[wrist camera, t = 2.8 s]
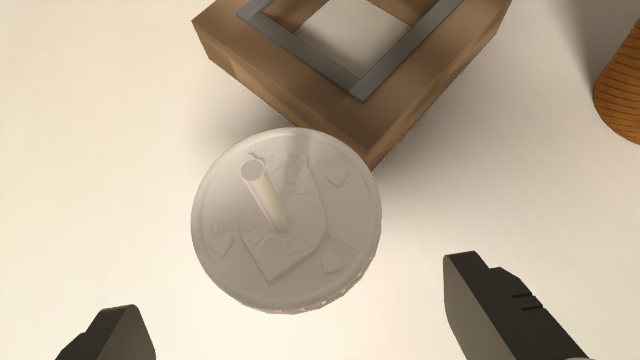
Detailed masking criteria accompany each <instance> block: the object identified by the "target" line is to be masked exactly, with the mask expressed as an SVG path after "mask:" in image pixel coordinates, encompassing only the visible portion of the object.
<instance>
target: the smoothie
mask: <svg viewBox="0 0 640 360" xmlns="http://www.w3.org/2000/svg"><path fill="white" fill-rule="evenodd" d="M381 219H382V208H381V200H380V195H379V191H378V187H377V185H376V182H375V180H374V177H373V175H372V173H371V172H370V170H369V168H368V167H367V165H366V164H365V163H364V161H363V160H362V159H361V158H360V157H359V155H358V154H357V153H356V152H355V151H353V150H352V149H351V148H350V147H349V146H347V145H346V144H345V143H343V142H342V141H340V140H338V139H337V138H335V137H333V136H330V135H328V134H326V133H323V132H320V131H316V130H313V129H307V128H299V127H284V128H275V129H270V130H266V131H262V132H259V133H256V134H253V135H251V136H249V137H247V138H245V139H243V140H241V141H239V142H238V143H236V144H235V145H233V146H232V147H230V148H229V149H228V150H227V151H225V152H224V153H223V154H222V155H221V156H220V157H219V158H218V159H217V160H216V161H215V162H214V163H213V164H212V166H211V167H210V168H209V170H208V171H207V172H206V174H205V176H204V177H203V179H202V181H201V183H200V185H199V187H198V190H197V192H196V195H195V198H194V202H193V206H192V212H191V234H192V241H193V245H194V249H195V252H196V254H197V257H198V259H199V261H200V263H201V265H202V267H203V269H204V270H205V272H206V273H207V275H208V276H209V277H210V278H211V280H212V281H213V282H214V283H215V284H216V285H217V286H218V287H219V288H220V289H222V290H223V291H224V292H225V293H227V294H228V295H230V296H231V297H233V298H234V299H235V300H237V301H238V302H240V303H241V304H242V305H244V306H247V307H250V308H253V309H256V310H259V311H262V312H265V313H269V314H291V315H295V314H299V313H303V312H307V311H312V310H316V309H320V308H322V307H324V306H326V305H327V304H329V303H331V302H333V301H335V300H337V299H338V298H340V297H342V296H344V295H345V294H346V293H347V292H348V291H349V290H350V289H351V288H352V287H353V286H354V285H355V284H356V283H357V282H358V281H359V280H360V279H361V278H362V277H363V275H364V273H365V272H366V270H367V268H368V267H369V265H370V263H371V262H372V260H373V258H374V257H375V254H376V250H377V246H378V243H379V239H380V235H381Z"/></svg>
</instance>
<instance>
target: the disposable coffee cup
mask: <svg viewBox="0 0 640 360" xmlns="http://www.w3.org/2000/svg"><path fill="white" fill-rule="evenodd" d="M594 102H595V106H596V108H597V110H598V112H599V114H600V116H601V117H602V119H603V120H604V121H605V123H606V124H607V125H608V126H609V127H610V128H612V129H613V130H614V131H615V132H616V133H617V134H619V135H621V136H622V137H624V138H625V139H627V140H629V141H631V142H633V143H636V144H639V145H640V19H638V21H637V23H636V24H635V26H634V28H633V29H631V31H630V33H629V35H628V37H626V39H625V40H624V42H623V43H622V45H621V46H620V47H619V49H618V51H617V53H615V55H614V56H613V58H612V61H610V62H609V64H608V65H607V67H606V68H605V69H604V71H603V72H602V74H601V75H600V76H599V78H598V80H597V81H596V83H595V87H594Z"/></svg>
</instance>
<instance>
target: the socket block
mask: <svg viewBox="0 0 640 360" xmlns="http://www.w3.org/2000/svg"><path fill="white" fill-rule="evenodd" d="M327 1H329V0H216V1H215V2H214V3H212V4H211V5H210V6H209V7H207V8H206V9H205V10H204V11H203V12H201V13H200V14H199V15H198V16H196V17H195V18H194V19H193V20H191V22H192V24H193V26H194V28H195V30H196V32H197V34H198V36H199V39H200V41H201V43H202V45H203V47H204V49H205V51H206V53H207V56H208V58H209V59H210V60H212V61H213V62H214V63H215V64H217V65H218V66H219V67H221V68H222V69H223V70H225V71H226V72H227V73H228V74H230V75H231V76H232V77H234V78H235V79H236V80H238V81H239V82H240V83H242V84H243V85H244V86H245V87H247V88H248V89H249V90H251V91H252V92H253V93H255V94H256V95H257V96H259V97H260V98H261V99H262V100H264V101H265V102H266V103H268V104H269V105H270V106H272V107H273V108H274V109H276V110H277V111H278V112H279V113H281V114H282V115H283V116H285V117H286V118H287V119H289V120H290V121H291V122H293V123H294V124H295V125H296V126H298V127H299V128H307V129H313V130H316V131H320V132H323V133H326V134H328V135H330V136H333V137H335V138H337V139H338V140H340V141H342V142H343V143H345V144H346V145H347V146H349V147H350V148H351V149H352V150H353V151H355V152H356V153H357V154H358V155H359V157H360V158H361V159H362V160H363V161H364V163H365V164H366V165H367V167H368V168H369V170H370V172H371V171H372V170H373V169H374V168H375V166H376V165H377V164H378V163H379V162H380V161H381V160H382V159H383V158H384V157H385V155H386V154H387V153H388V152H389V151H390V150H391V149H392V148H393V147H394V146H395V144H396V143H397V142H398V141H399V140H400V139H401V138H402V137H403V136H404V135H405V133H406V132H407V131H408V130H409V129H410V128H411V127H412V126H413V125H414V124H415V122H416V121H417V120H418V119H419V118H420V117H421V116H422V115H423V114H424V113H425V111H426V110H427V109H428V108H429V107H430V106H431V105H432V104H433V103H434V102H435V100H436V99H437V98H438V97H439V96H440V95H441V94H442V93H443V92H444V90H445V89H446V88H447V87H448V86H449V85H450V84H451V83H452V82H453V81H454V79H455V78H456V77H457V76H458V75H459V74H460V73H461V72H462V71H463V70H464V68H465V67H466V66H467V65H468V64H469V63H470V62H471V61H472V60H473V59H474V57H475V56H476V55H477V54H478V53H479V52H480V51H481V50H482V49H483V48H484V46H485V45H486V44H487V43H488V42H489V41H490V40H491V39H492V38H493V37H494V35H495V34H496V32H497V30H498V28H499V26H500V24H501V22H502V20H503V18H504V16H505V14H506V12H507V9H508V7H509V5H510V3H511V1H512V0H368V1H369V2H371V3H373V4H374V5H376V6H378V7H379V8H381V9H383V10H384V11H386V12H388V13H390V14H391V15H393V16H395V17H396V18H398V19H400V20H401V21H403V22H405V23H406V24H408V25H410V26H411V27H413V28H412V29H411V30H410V31H409V32H408V33H407V34H406V35H405V36H404V37H403V38H402V39H401V40H400V41H399V42H398V43H397V44H396V45H395V46H394V47H393V48H392V49H391V50H390V51H389V52H388V53H387V54H386V55H385V56H384V57H383V58H382V59H381V60H380V61H379V62H378V63H377V64H376V65H375V66H374V67H373V68H372V69H371V70H370V71H369V72H368V73H367V74H366V75H365V76H364V77H363V78H362V79H361V80H360V79H359V78H357V77H356V76H354V75H353V74H351V73H350V72H348V71H347V70H345V69H344V68H342V67H341V66H339V65H338V64H336V63H335V62H333V61H332V60H330V59H329V58H328V57H326V56H325V55H323V54H322V53H320V52H319V51H317V50H316V49H314V48H313V47H311V46H310V45H308V44H307V43H305V42H304V41H302V40H301V39H299V38H298V37H296V36H295V35H293V34H292V33H293V32H294V31H295V30H296V29H297V28H298V27H299V26H301V25H302V24H303V23H304V22H305V21H306V20H307V19H308V18H309V17H311V16H312V15H313V14H314V13H315V12H316V11H317V10H318V9H320V8H321V7H322V6H323V5H324V4H325V3H326V2H327Z"/></svg>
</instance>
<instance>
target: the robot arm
mask: <svg viewBox="0 0 640 360" xmlns="http://www.w3.org/2000/svg"><path fill="white" fill-rule="evenodd" d="M443 276H444V303H445V311H446V315H447V319H448V322H449V325H450V327H451V329H452V331H453V333H454V335H455V337H456V339H457V341H458V343H459V345H460V347H461V349H462V351H463V353H464V355H465V357H466V359H467V360H594V359H590V358H589V357H588V356H587V355H586V354H585V353H584V352H583V351H582V349H581V348H580V347H579V346H578V345H577V344H576V343H575V341H574V340H573V339H572V338H571V337H570V336H569V335H568V333H567V332H566V331H565V330H564V329H563V328H562V327H561V325H560V324H559V323H558V322H557V321H556V320H555V319H554V317H553V316H552V315H551V314H550V313H549V312H548V311H547V309H546V308H543V305H542V304H541V303H540V301H539V300H538V299H537V298H536V297H535V296H533V295H532V292H531V291H530V290H529V289H528V288H527V287H526V285H525V284H524V283H523V282H522V281H521V280H520V279H519V278H518V277H516V276H515V275H513V274H511V273H510V272H508V271H506V270H504V269H503V268H501V267H497V268H490V269H489V268H488V266H487V265H486V264H485V262H484V261H483V260H482V259H481V257H480V256H479V255H478V254H477V253H476V252H475V251H468V252H462V253H456V254H450V255H445V256H444V258H443ZM55 360H156V354H155V349H154V346H153V344H152V341H151V339H150V336H149V334H148V331H147V329H146V326H145V324H144V321H143V319H142V316H141V314H140V311H139V309H138V308H137V306H135V305H133V304H131V305H125V306H119V307H113V308H106V309H102V310H101V311H99V313H98V314H97V316H96V317H95V318H94V320H93V321H92V323H91V324H90V326H89V327H88V329H87V330H86V332H84V333H81V334H79V335H78V336H77V337H76V338H75V339H74V340H73V341H72V342H70V343H69V344H68V345H67V346H66V347H65V348H64V349H62V351H61V352H60V353H59V355H58V356H57V358H56V359H55Z"/></svg>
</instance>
